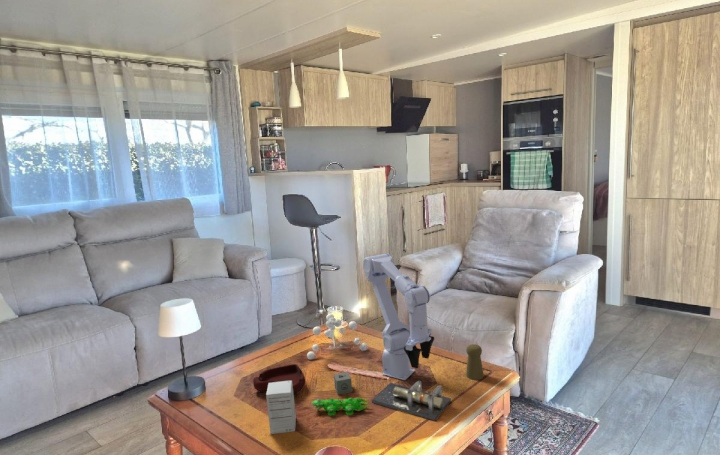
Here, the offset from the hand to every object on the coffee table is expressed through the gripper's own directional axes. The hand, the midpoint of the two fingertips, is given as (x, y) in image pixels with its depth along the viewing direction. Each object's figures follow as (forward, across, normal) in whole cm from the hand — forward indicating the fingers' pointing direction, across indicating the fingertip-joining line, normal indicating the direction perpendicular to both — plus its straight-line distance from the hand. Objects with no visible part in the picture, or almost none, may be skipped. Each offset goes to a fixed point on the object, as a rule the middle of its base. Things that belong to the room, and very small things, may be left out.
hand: (420, 362), depth 150 cm
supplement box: (+10, -39, +26) cm, 48 cm away
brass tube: (+7, -9, -4) cm, 12 cm away
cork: (+10, +16, -12) cm, 23 cm away
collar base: (+9, -9, -1) cm, 13 cm away
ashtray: (+10, -21, +43) cm, 49 cm away
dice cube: (+10, -13, +23) cm, 28 cm away
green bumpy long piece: (+10, -23, +16) cm, 30 cm away
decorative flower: (+10, +9, +47) cm, 49 cm away
